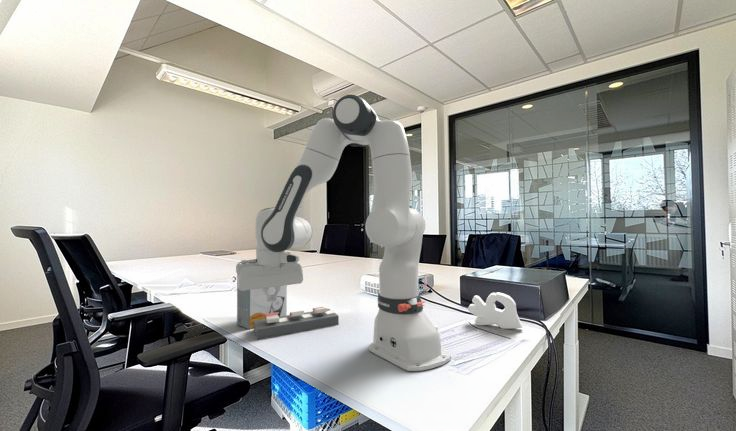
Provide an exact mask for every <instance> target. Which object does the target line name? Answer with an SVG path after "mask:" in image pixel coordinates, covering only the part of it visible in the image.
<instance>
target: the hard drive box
mask: <svg viewBox="0 0 736 431" xmlns="http://www.w3.org/2000/svg"><path fill="white" fill-rule="evenodd" d="M287 286H288V285H285V286H280V291H279V293H278V295H277V300H276V301H269V302H267V295H266V294H265V293H264V291H263V288H261V289H253V290H246V291H240V290H239V289H238V274H237V273H236V297H237V298H236V325H237V326H240V327H242V328H245V329H247V330H250V329H254V321H255V320H262V319H265V314H268V313H274V312H276V313H277V314H278V316H279V317H281V316H287V311H288V310H287V306H288V305H287V304H288V303H287V302H288V301H287V300H288V298H287V297H288V290H287ZM275 291H276V289H275V287H269V291H267V293H268V294H269V295H273V294H274V293H275Z"/></svg>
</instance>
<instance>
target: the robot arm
mask: <svg viewBox="0 0 736 431" xmlns="http://www.w3.org/2000/svg"><path fill="white" fill-rule="evenodd" d="M405 131H406V130H405V128H404V126H403V124H402V123H401V122H399V121H398V120H395V119H384V120H381V119H380V118H379V117H378V114H377V112H376V111H375V110H374V108H373V107H372V106H371V105H370V104H369V103H368V102H367V100H365V99H364V98H362V97H360V96H358V95H355V94H346V95H343V96H341V97H340V98H339V99H337V101H336V102H335V103H334V106H333V109H332V118H329V117H327V118H321V119H319V120H318V121H317V122H316V124H315V126H314V127H313V129H312V131H311V133H310V135H309V137H308V140H307V142H306V145H305V147H304V150H303V153H302V154H301V157H300V160H299V162H298V163H297V165H296V166H295V168H294V169H293V170H292V172H291V173H290V176H289V177H288V179H287V181H286V183H285V185H284V187H283V189H282V192H281V194H280V195H279V198H278V200H277V203H276V205H275V206H274V207H268V208H267V207H266V208H263V209H261V210H259V211H258V212H257V215H256V219H255V238H256V243H257V244H256V247H255V256H256V258H254V259H247V260H246V259H242V260H241V261H239V262H238V263H237V264H236V266H235V272H236V275H237V274H238V289H239V290H240V291H246V290H253V289H261V288H263V291H264V293H265V294H266V295H267V302H269V301H276V300H277V295H278V293H279V291H280V286H285V285H287V286H291V285H299V284H302V283H303V282H304V270H303V267H302V264H301V263H300V256H299V255H298V254H295V253H291V252H288V251H287V250H290V249H295V248H299V247H303V246H305V245H307V244H308V243H309V242H310V241H311V239H312V236H313V227H312V225H311V223H310V222H309V221H308V220H307V219H305V218H303V217H300V216H299V217H298V212H299V210H300V208H301V206H302V204H303V202H304V200H305V197H306V195H308V193H309V192H310V191H311V190H312V189H314V188H315V187H317V186H319V185H322V184H325V183H326V182H328V181H329V180H331V178H332V177H333V176H334V174H335V172H336V170H337V168H338V165H339V162H340V159H341V157H342V155H343V154H342V153H343V151H344V149H345V147H347V146H348V145H349V146H350V147H362V148H363V147H364V148H365V147H366V148H368V147H369V148H370V149H369V150H370V154H371V156H370V157H371V164H372V176H373V197H372V206H371V210H370V213H369V215H368V216H367V218H366V221H365V228H364V229H365V234H366V235H367V237H368V239H369V240H370V241H371V242H372V243H373V244H375V245H377V246H380V247H385V249H384V252H383V257H382V260H381V262H380V264H379V268H378V273H379V274H378V278H379V279H378V281H379V283H378V284H379V286H378V287H379V289H378V290H379V292H378V294H377V307H378V311H377V314H376V316H375V317H374V323H373V335H372V336H373V338H372V343H371V344H370V345H369V352H370V353H373V354H374V355H376V356H378V357H380V358H382V359H384V360H386V361H388V362H390V363H391V364H394V365H395V366H397V367H398V368H401V369H403V370H405V371H408V372H418V371H419V372H421V371H426V370H430V369H433V368H437V367H441V366H443V365H446V364H447V363H449V362H450V360H451V359H452V355H451V353H450V352H449V351H447V350H446V349H445V348H444V347H442V342H441V336H440V333H439V331H438V330H439V329H438V327H437V325H435V324H433V323H432V321H431V320H430V319H429V317H428V316H427V314H426V313H425V312H424V310H423V309H424V307H423V306H425V301H423V300H422V298H421V294H419V265H420V258H421V253H422V252H421V251H422V245H423V235H424V234H425V231H426V219H424V216H423V215H422V214H421V213H420V212H419V211H418V210H416V209H415V208H411V207H410V197H411V191H412V187H413V184H414V182H413V181H414V180H413V170H412V163H411V162H412V161H411V152H410V146H409V142H408V138H407V135H406V132H405ZM286 251H287V252H286ZM269 287H275V289H276V291H275V293H274V294H273V295H269V294H268V293H267V291H269Z"/></svg>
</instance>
